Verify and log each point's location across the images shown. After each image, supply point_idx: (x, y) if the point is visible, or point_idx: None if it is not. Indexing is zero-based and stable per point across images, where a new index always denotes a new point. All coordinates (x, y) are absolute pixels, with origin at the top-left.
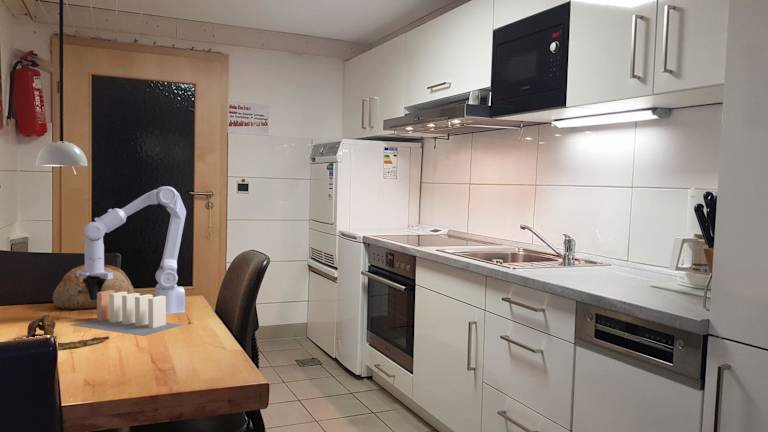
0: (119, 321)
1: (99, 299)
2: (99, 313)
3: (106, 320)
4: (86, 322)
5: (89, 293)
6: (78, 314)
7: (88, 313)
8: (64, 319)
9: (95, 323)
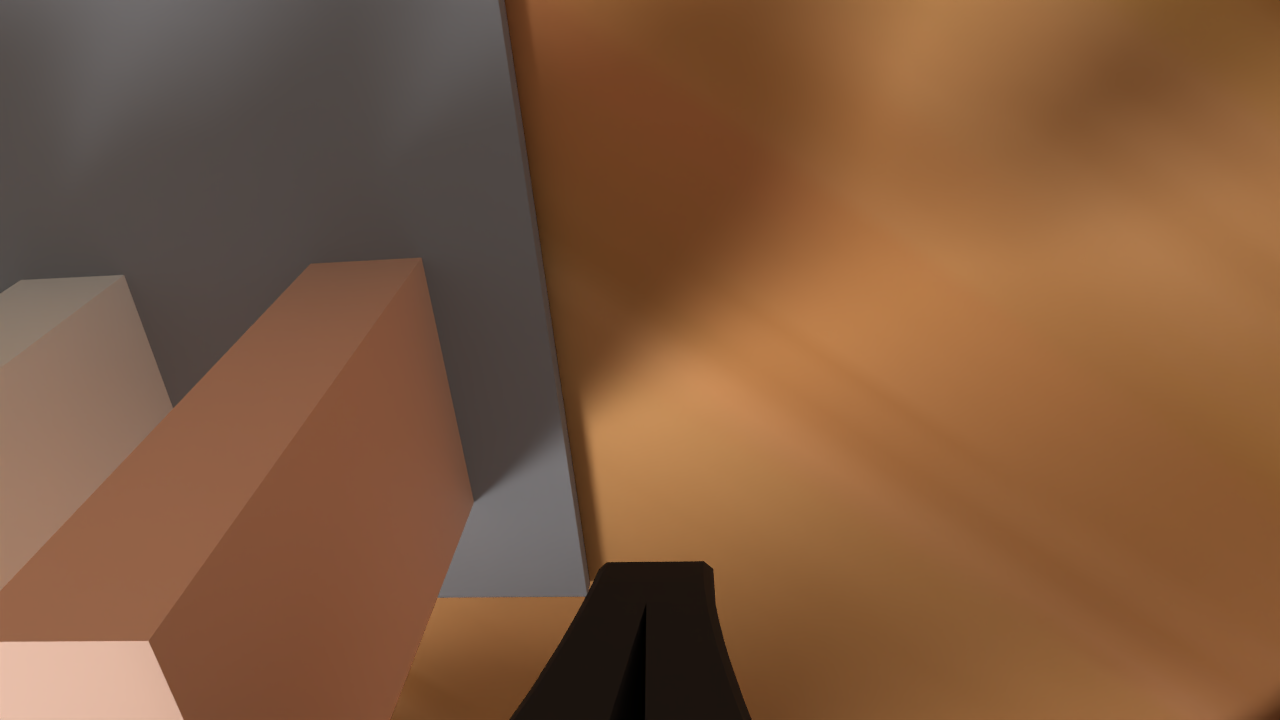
0: None
1: (160, 502)
2: (308, 319)
3: None
4: (380, 26)
5: (699, 667)
6: (1265, 453)
7: (1152, 568)
8: (1166, 46)
9: (163, 63)
